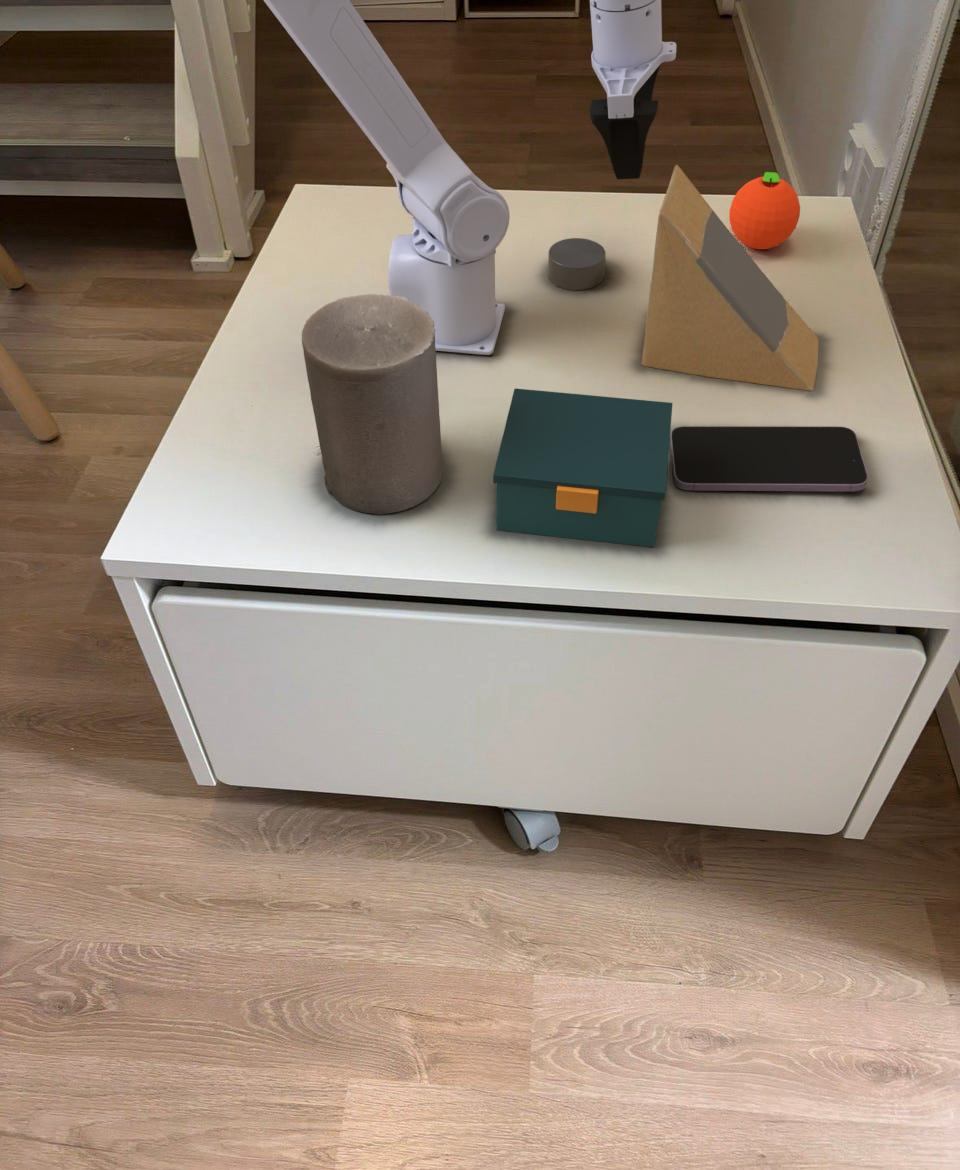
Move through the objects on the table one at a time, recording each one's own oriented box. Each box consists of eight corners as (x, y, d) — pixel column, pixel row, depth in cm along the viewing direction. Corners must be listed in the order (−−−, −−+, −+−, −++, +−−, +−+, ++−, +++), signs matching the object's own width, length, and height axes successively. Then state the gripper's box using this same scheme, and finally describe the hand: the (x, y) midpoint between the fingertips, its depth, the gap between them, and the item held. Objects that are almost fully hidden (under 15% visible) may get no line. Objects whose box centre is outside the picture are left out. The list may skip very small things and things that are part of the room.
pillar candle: (304, 499, 81) (272, 339, 70) (356, 425, 87) (334, 267, 76) (417, 527, 79) (402, 366, 68) (462, 449, 85) (455, 289, 74)
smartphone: (669, 425, 85) (854, 425, 84) (668, 435, 86) (851, 436, 85) (675, 484, 81) (870, 485, 79) (673, 494, 81) (867, 496, 80)
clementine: (726, 220, 109) (737, 154, 104) (792, 225, 108) (807, 160, 103) (722, 259, 104) (734, 192, 99) (792, 265, 103) (807, 198, 98)
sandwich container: (814, 393, 89) (858, 234, 78) (640, 367, 92) (658, 210, 81) (820, 337, 95) (862, 182, 84) (655, 315, 98) (674, 161, 87)
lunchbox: (492, 535, 78) (492, 478, 74) (514, 441, 86) (515, 385, 81) (656, 553, 77) (665, 496, 72) (664, 456, 84) (672, 399, 80)
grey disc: (544, 288, 101) (545, 265, 99) (551, 258, 105) (552, 235, 103) (601, 292, 100) (602, 269, 99) (606, 262, 104) (608, 239, 102)
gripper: (669, 35, 77) (671, 196, 88) (680, -49, 86) (681, 108, 96) (577, 42, 79) (589, 200, 90) (596, -41, 87) (606, 112, 98)
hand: (632, 153), depth 93 cm, fingers open, 7 cm apart
